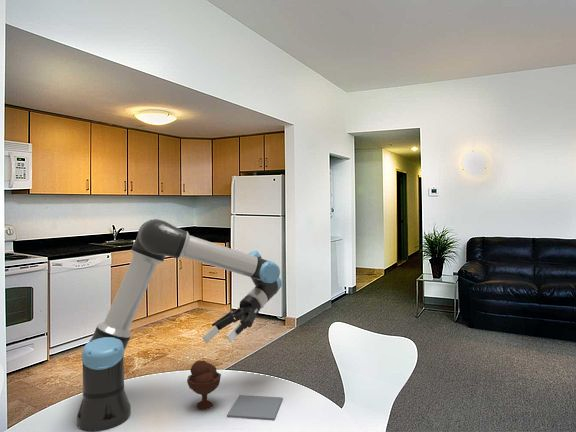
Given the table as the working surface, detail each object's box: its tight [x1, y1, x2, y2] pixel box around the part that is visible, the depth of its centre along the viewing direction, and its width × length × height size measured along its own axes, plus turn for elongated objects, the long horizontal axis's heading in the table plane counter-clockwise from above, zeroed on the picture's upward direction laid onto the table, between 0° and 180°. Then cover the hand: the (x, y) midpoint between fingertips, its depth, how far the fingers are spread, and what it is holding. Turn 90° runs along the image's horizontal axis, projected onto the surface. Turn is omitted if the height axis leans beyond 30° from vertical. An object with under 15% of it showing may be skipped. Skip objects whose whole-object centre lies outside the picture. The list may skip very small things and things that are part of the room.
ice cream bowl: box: [186, 360, 222, 411], centre depth 132 cm, size 11×11×15 cm
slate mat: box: [226, 394, 284, 421], centre depth 130 cm, size 15×14×1 cm
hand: (216, 339), depth 137 cm, fingers open, 13 cm apart
